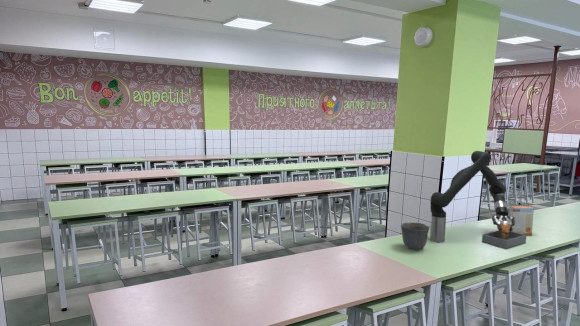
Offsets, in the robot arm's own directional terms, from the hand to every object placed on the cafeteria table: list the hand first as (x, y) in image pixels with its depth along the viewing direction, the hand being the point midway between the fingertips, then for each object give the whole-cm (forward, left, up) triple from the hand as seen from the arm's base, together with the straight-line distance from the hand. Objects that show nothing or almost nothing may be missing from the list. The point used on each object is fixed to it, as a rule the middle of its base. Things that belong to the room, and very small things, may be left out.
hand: (505, 230), depth 239 cm
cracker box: (+17, +25, -9) cm, 31 cm away
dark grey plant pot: (-60, -26, -9) cm, 66 cm away
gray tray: (0, +2, -9) cm, 9 cm away
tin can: (0, +2, -7) cm, 7 cm away
